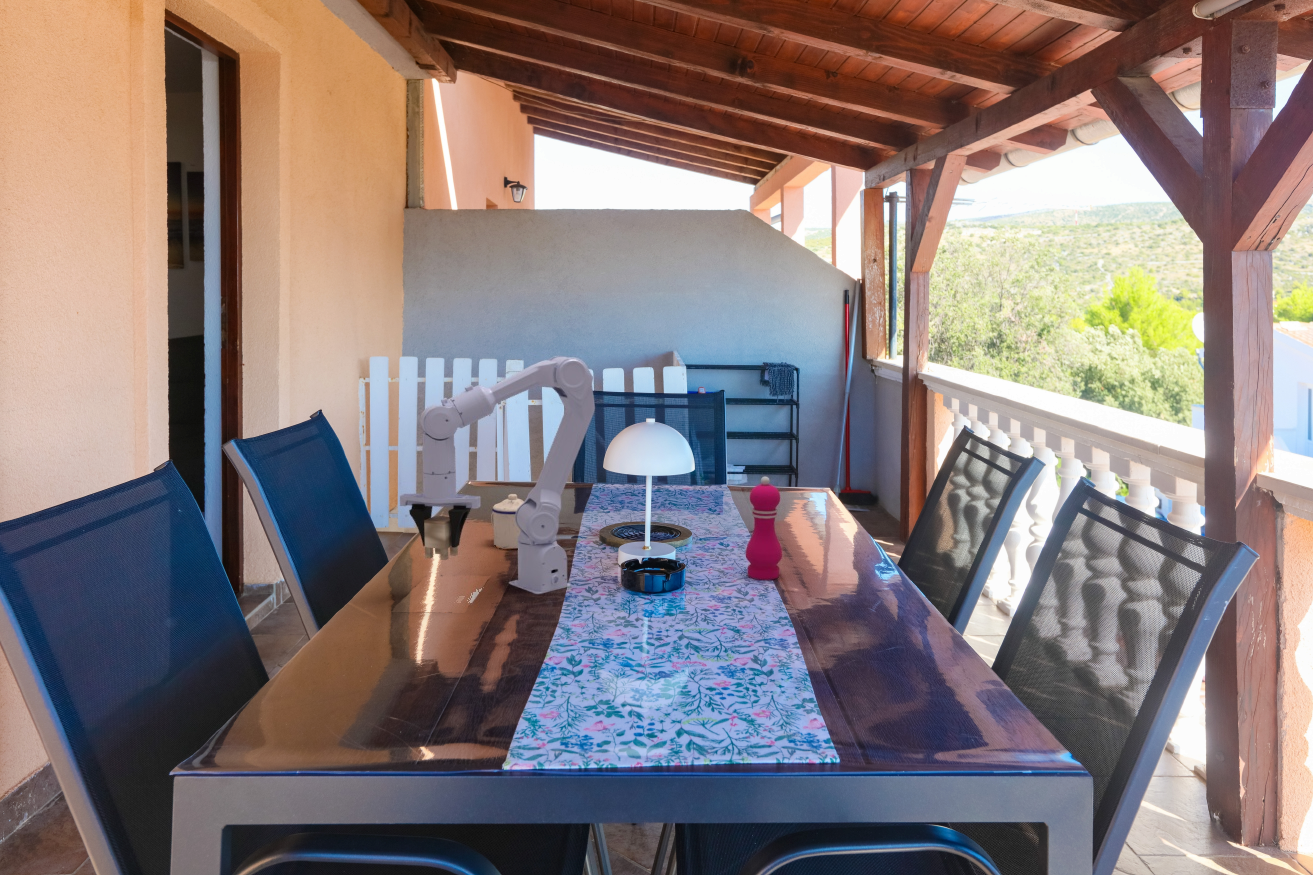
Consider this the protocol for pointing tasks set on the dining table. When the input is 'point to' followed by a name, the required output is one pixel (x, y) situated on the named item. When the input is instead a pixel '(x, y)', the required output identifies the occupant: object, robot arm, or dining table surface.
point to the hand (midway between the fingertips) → (441, 545)
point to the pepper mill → (764, 533)
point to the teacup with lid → (506, 522)
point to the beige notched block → (438, 537)
